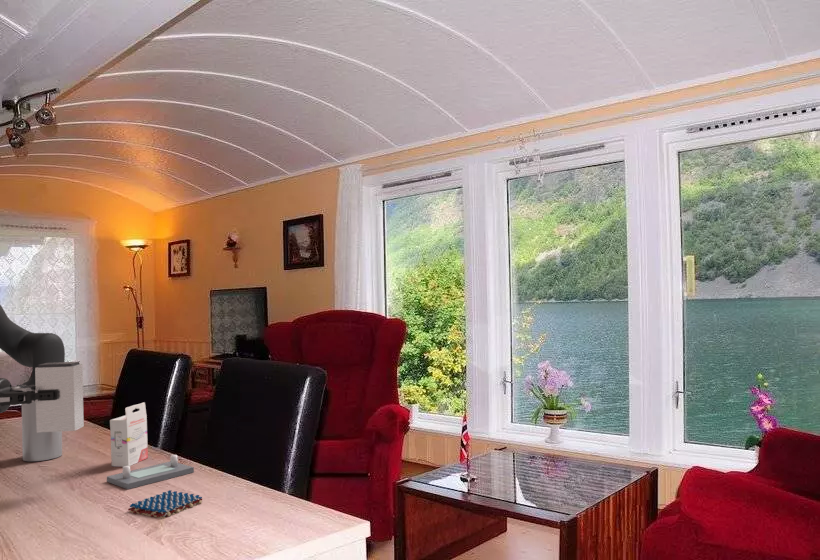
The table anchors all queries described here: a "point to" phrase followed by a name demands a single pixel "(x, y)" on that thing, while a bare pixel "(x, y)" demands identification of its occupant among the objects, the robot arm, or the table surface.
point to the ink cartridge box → (129, 437)
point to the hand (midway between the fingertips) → (63, 392)
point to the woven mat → (165, 504)
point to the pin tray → (149, 474)
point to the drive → (60, 397)
